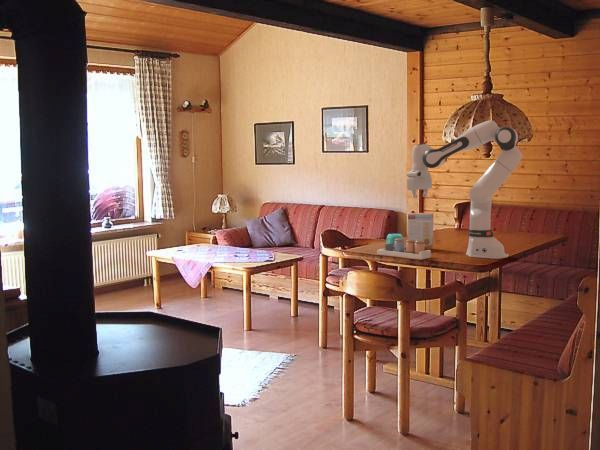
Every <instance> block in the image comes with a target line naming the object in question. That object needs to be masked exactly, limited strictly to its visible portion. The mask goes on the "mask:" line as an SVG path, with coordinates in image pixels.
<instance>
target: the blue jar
mask: <svg viewBox="0 0 600 450" xmlns="http://www.w3.org/2000/svg"><path fill="white" fill-rule="evenodd" d="M404 250H405V239H404V238H403V239H395V252H403V253H404Z"/></svg>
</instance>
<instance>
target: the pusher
mask: <svg viewBox="0 0 600 450" xmlns="http://www.w3.org/2000/svg"><path fill="white" fill-rule="evenodd" d="M384 249H385V250H386V251H393V249H395V242H393V243H389V244H387V243H385V244H384Z"/></svg>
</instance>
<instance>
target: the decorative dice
mask: <svg viewBox="0 0 600 450" xmlns="http://www.w3.org/2000/svg"><path fill="white" fill-rule="evenodd" d="M395 239H404V237H403V235H402V234H401V233H388V234H387V236H386V244H389V243H393V242H395Z"/></svg>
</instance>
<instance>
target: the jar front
mask: <svg viewBox="0 0 600 450" xmlns="http://www.w3.org/2000/svg"><path fill="white" fill-rule="evenodd" d="M421 251H425V249H424V241H415V247H414V254H419V252H421Z"/></svg>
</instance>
